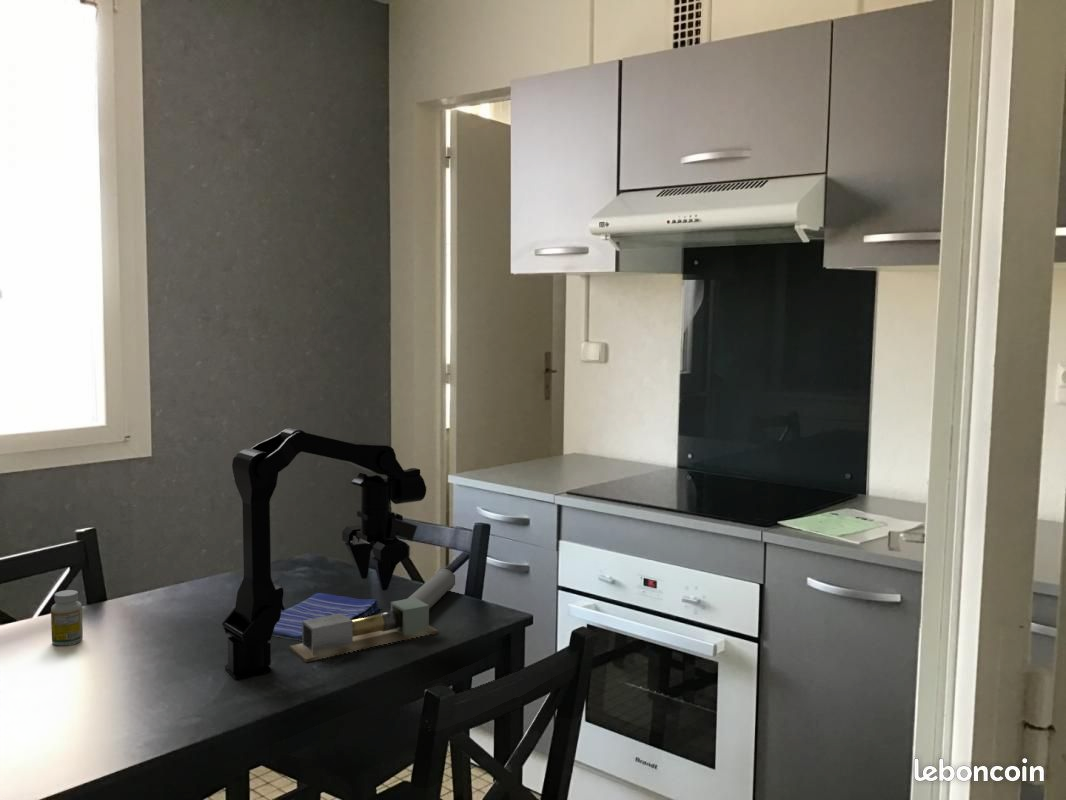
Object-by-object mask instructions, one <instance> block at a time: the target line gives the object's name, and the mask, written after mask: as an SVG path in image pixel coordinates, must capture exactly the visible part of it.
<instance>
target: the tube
mask: <svg viewBox="0 0 1066 800" xmlns="http://www.w3.org/2000/svg"><path fill="white" fill-rule="evenodd" d="M455 585H456V574H454V573H453V572H452V571H450V569H446V568H445V569H443V568H439V570H437V572H436V573H435V574H434V575H433V576H432V577H431V578H429V579H428V580H427V581H425V583H424V584H422V586H421V585H420V587H419V588H417V590H415V592H413V593H412V594H411V595H410V596H408V598H407V599H409V598H416V599H418V600H420V601H422V602H424V603H426V604H427V605H429V610H431V608H432V607H434V605H436V603H437V602H439V600H441V599H442V598H443V597H444V596H445V595H446V594H445V593H446V592H447V591H448V592H450V591H451V590H452V589H453V588H454V587H455ZM448 592H447V593H448ZM444 594H445V595H444ZM443 595H444V596H443ZM442 596H443V597H442ZM441 597H442V598H441Z"/></svg>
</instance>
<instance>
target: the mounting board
mask: <svg viewBox="0 0 1066 800" xmlns="http://www.w3.org/2000/svg"><path fill="white" fill-rule="evenodd" d="M437 632H439V630H438V629H436V628H435V627H432V626H431V625H429V630H428V631H423V632H419V633H414V634H409V635H405V636H404V635H403V634H401V633H400V632H398V631H396V630H395V629H392V630H388V631H378V632H373V633H368V634H364V635H359V636H354V637H353V646H350V647H346V648H341V649H337V650H332V651H327V652H323V653H318V654H314V655H313V654H312V653H310V652H309V651H308V650H307V649H305V648H304V647H303V646H302V642H301V643H296V644H292V645H289V650H290V651H291V652H293V653H294V654H295V655H296V656H297V657H298V658H299V659H301V660H302V661H303V662H305V663H309V662H313V661H317V660H318V659H319V660H323V659H327V657H328V658H332V657H336V656H335V655H337V656H341V655H345V654H344V653H346V654H349V653H348V652H350V653H354V652H353V651H355V652H358V651H357V650H359V651H362V650H361V649H364V650H366V649H365V648H369V649H371V648H370V647H373V646H378V645H382V646H384V645H383V644H387V645H389V644H388V643H391V644H393V643H392V642H396V641H400V642H402V641H401V640H405V641H407V640H406V639H409V640H412V639H411V638H414V639H417V638H416V637H418V638H421V637H420V636H423V637H425V635H427V636H430V635H429V634H432V635H434V634H433V633H436V634H438V633H437ZM396 643H397V642H396ZM378 647H379V646H378ZM373 648H374V647H373ZM340 654H341V655H340ZM331 656H332V657H331ZM322 658H323V659H322ZM319 660H318V661H319Z"/></svg>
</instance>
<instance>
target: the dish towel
mask: <svg viewBox="0 0 1066 800" xmlns="http://www.w3.org/2000/svg"><path fill="white" fill-rule="evenodd" d="M378 605H379V603H378V601H377V599H376V598H371V599H370V598H368V599H365V598H364V599H363V598H361V599H360V598H353V597H349V596H343V595H341V596H339V595H335V594H330V593H321V592H318V593H315V594H312V596H310V597H309V598H307V599H305V600H303V601H300V602H298V603H297V604H295V605H293V606H290V607H288V608H287V609H285V610H281V617H280V620H279V621H278V622H277V623H276V625H275V627H274V631H273V634H272V637H277V638H281V639H288V640H292V639H293V641H298V640H299V641H298V642H302V621H303V620H308V619H314V618H319V617H324V616H329V615H334V614H340V613H342V614H343V615H345V616H346V617H348V618H349V619H351V620H354V619H359V618H363V617H365V616H366V615H368V614H370V613H373V612H374V613H376V612H378V611H379V609H380V607H379V606H378ZM375 611H376V612H375ZM374 613H373V614H374Z"/></svg>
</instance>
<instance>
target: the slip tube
mask: <svg viewBox="0 0 1066 800" xmlns="http://www.w3.org/2000/svg"><path fill="white" fill-rule="evenodd" d="M352 621H353V637H354V636H359V635H364V634H368V633H373V632H378V631H388V630H392V629H397V628H398V627H402V626H403V611H401V610H399V611H391V610H389V611H385V612H380V613H378V614H374V615H369V616H367V617H364V618H359V619H354V620H352Z"/></svg>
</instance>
